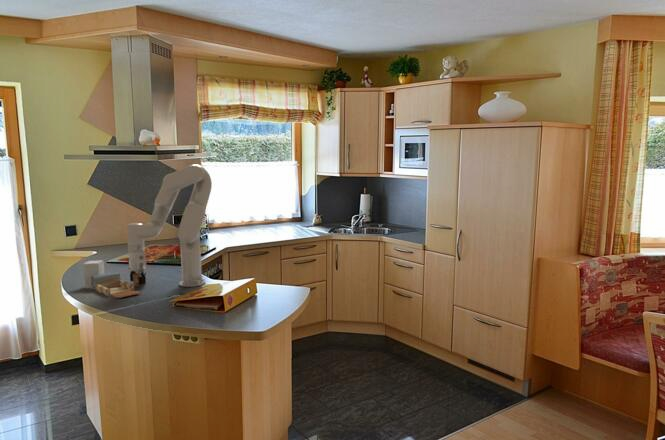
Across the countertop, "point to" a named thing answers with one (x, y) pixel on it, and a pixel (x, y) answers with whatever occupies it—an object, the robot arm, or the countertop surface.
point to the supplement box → (92, 271)
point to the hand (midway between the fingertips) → (138, 282)
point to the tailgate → (125, 294)
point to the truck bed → (110, 284)
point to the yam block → (136, 280)
